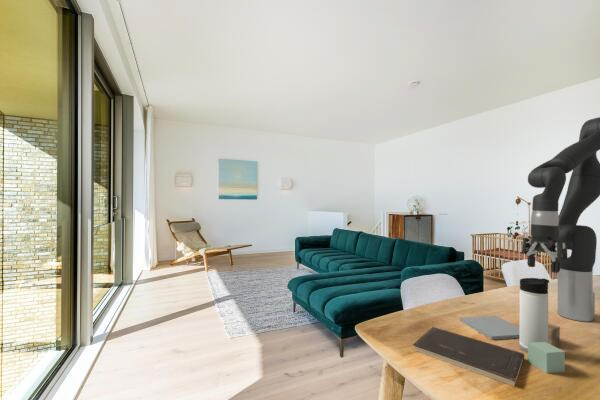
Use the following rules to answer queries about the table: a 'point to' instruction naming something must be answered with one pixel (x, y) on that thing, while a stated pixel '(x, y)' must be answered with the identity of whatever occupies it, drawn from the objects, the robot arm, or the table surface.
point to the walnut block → (553, 334)
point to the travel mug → (533, 311)
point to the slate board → (492, 327)
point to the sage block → (546, 357)
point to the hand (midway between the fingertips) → (542, 269)
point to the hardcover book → (472, 354)
